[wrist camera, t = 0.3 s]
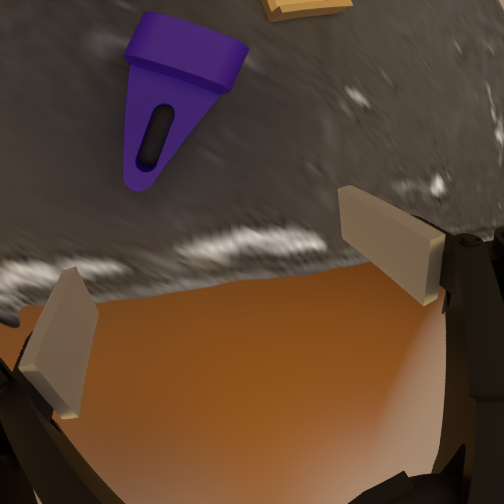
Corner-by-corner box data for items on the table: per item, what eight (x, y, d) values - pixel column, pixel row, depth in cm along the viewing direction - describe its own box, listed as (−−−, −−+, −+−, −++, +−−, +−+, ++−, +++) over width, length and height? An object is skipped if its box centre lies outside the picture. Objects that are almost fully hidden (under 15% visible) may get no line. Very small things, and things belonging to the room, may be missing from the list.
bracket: (149, 37, 30) (141, 8, 20) (230, 65, 34) (254, 47, 24) (98, 171, 36) (72, 193, 25) (177, 194, 40) (181, 225, 30)
